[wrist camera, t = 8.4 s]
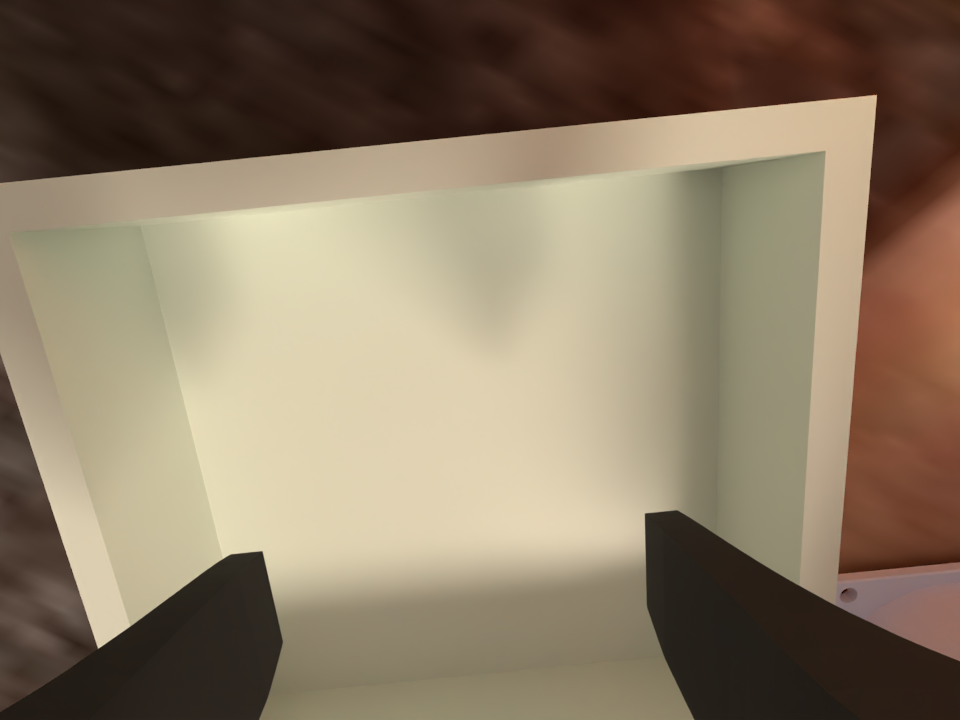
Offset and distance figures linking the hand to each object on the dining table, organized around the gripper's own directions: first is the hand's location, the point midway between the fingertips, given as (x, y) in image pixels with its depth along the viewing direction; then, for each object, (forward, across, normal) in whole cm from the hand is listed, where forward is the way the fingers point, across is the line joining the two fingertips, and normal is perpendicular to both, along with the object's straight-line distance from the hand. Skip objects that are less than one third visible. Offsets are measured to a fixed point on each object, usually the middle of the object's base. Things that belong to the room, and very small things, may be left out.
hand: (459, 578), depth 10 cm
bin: (+6, 0, 0) cm, 6 cm away
